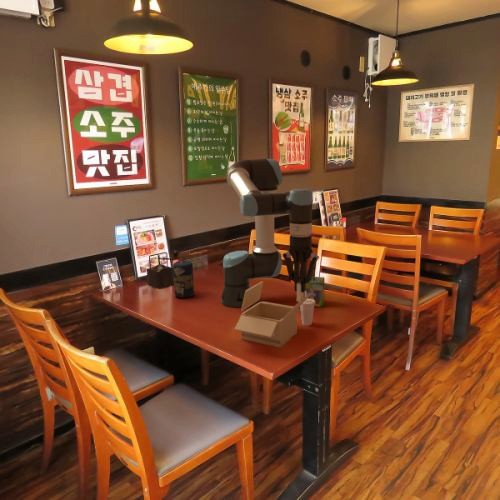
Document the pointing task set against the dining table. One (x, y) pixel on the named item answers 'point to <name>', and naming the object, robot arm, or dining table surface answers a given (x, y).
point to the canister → (183, 278)
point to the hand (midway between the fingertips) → (300, 300)
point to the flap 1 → (252, 295)
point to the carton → (274, 313)
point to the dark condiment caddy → (161, 273)
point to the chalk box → (316, 290)
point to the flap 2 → (256, 326)
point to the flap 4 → (296, 306)
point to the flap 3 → (281, 305)
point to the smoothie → (307, 311)
